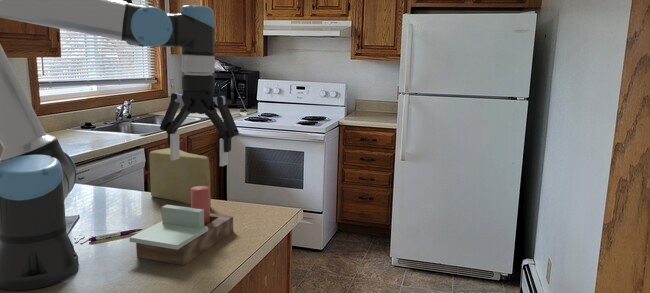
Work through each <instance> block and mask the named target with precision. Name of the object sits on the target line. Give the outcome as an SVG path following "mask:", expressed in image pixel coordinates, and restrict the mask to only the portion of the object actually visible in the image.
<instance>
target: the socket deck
mask: <svg viewBox="0 0 650 293" xmlns="http://www.w3.org/2000/svg"><path fill="white" fill-rule="evenodd" d="M204 226H207V227H208V231H207V232H205V233H204V234H202V235H201V236H199V237H197V238H196V239H194V240H192V241H191V242H189V243H188V244H186V245H184V246H183V247H181V248H179V249H178V250H176V249H170V248H164V247H158V246H152V245H146V244H140V243H135V245H136V247H135V248H136V250H135V251H136V258H141V259H146V260H152V261H158V262H163V263H169V264H173V265H180V266H185V265H186V264H187V263H189V262H191V261H193V260H194V259H195V258H196V257H198V256H199V255H201V254H202V253H203V252H205V251H206V250H208V249H209V248H211V247H212V246H214V245H216V244H217V243H218V242H220V241H221V240H222V239H224V238H226V237H227V236H229V235H230V234H232V233H233V232H234V216H233V215H227V214H226V215H225V214H217V213H212V212H210V223H209V224H207V225H204Z"/></svg>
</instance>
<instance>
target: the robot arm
mask: <svg viewBox="0 0 650 293" xmlns="http://www.w3.org/2000/svg"><path fill="white" fill-rule="evenodd" d="M0 19H7V20H12V21H17V22H22V23H27V24H31V25H32V24H33V25H38V26H44V27H48V28H54V29H60V30H63V31H64V30H65V31H69V32H70V31H71V32H74V33H75V32H76V33H80V34H85V35H90V36H91V35H93V36H96V37H102V38H107V39H113V40H117V41H123V42H126V44H127V45H129V46H134V47H135V46H137V47H152V48H158V47H159V48H161V47H162V48H181V72H182V73H183V74H182V76H181V89H182V92H183V93H182V94H181V92H174V93H171V94H170V102H169V105H168V107H167V110H166V112H165V115H164V116H163V119H162V120H161V123H160V126H159V129H160V130H161V131H164V132H166V133H167V146H168V147H169V148H170V159H171V160H176V159H180V150H181V149H180V132H178V130H179V128H180V127H181V125H182V124H183V123H184V122H185V120H186V119H187V118H188V116H189V115H190V114H199V115H205V116H206V117H208V119H209V120H210V122H211V123H212V124H213V126H214V127H215V129H216V130H217V131H218V133H219V134H220V135H221V138H219V167H224V166H227V165H229V152H231V151H232V138H234V137H237V136H239V135H240V131H239V129H238V127H237V124H236V123H235V120H234V117H233V116H232V113H231V111H230V108H229V105H228V100H227V99H228V98H227V96H226V95H220V96H216V95H215V89H216V84H215V83H216V82H215V81H216V79H215V78H216V77H215V75H213V74H214V73H215V72H216V71H215V63H216V62H215V57H216V56H215V55H216V54H215V50H216V47H215V45H216V43H215V41H216V27H215V12H214V9H213V8H211V7H209V6H205V5H191V4H190V5H189V4H188V5H182V6H181V8H180V12H179V13H166V11H165V10H163V9H161V8H160V7H157V6H153V5H145V6H144V5H141V4H136V3H130V2H127V1H122V0H0ZM181 102H183V105H182V107H181V108H180V105H181ZM214 104H215V105H216V106H217V109H218V111H217V109H216V107H215V106H214ZM179 108H180V111H179V113H178V114H177V112H178V110H179ZM218 112H219V114H220V115H219V114H218ZM0 145H1V147H2V151H1V155H0V289H1V290H4V291H28V290H35V289H36V290H37V289H40V288H45V287H49V286H53V285H55V284H58V283H60V282H63V281H65V280H68V279H70V277H72V276H73V275H75V274H76V273H77V271H78V270H79V266H80V265H79V256H78V253H77V252H76V250H75V247H74V245H73V243H72V241H71V239H70V237H69V234H68V232H67V220H66V206H65V200H66V199H67V197H68V195H69V194H70V193H71V191H72V190H73V188H74V186H75V185H76V181H77V167H76V164H75V162H74V160H73V158H72V157H71V156H70V155H69V154H67V152H65V151H64V150H63V148H62V146H61V144H60V142H59V140H58V138H57V137H56V136H54V135H51V134H49V133H47V132H46V130H45V129H44V128H43V125H42V123H41V122H40V120H39V118H38V116H37V113H36V112H35V109H34V108H33V106H32V104H31V102H30V99H29V98H28V95H27V94H26V92H25V89H24V88H23V85H22V83H21V82H20V80H19V78H18V76H17V74H16V72H15V70H14V68H13V65H12V64H11V62H10V60H9V59H8V57H7V54H6V52H5V50H4V48H3V47H2V44H1V43H0Z"/></svg>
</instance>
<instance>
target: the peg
mask: <svg viewBox="0 0 650 293" xmlns="http://www.w3.org/2000/svg"><path fill="white" fill-rule="evenodd" d="M190 206H191V207H190V208H196V209H203V210H204V225H207V224H209V223H210V213H211V212H210V210H211V208H210V207H211V206H210V200H209V187H206V186H197V187H193V188H191V204H190Z"/></svg>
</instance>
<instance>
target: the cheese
mask: <svg viewBox="0 0 650 293" xmlns="http://www.w3.org/2000/svg"><path fill="white" fill-rule="evenodd" d="M179 150H180V159H176V160H171V159H170V147H169V148H168V147H167V148H162V149H154V150H151V151H150V152H149V156H148V157H149V159H148V160H149V178H150V179H149V180H150V196H151V197H153V198H158V199H164V200H169V201H175V202H179V203H183V204H188V205H191V188H193V187H197V186H206V187H209V200H210V207H211V206H212V205H211V204H212V203H211V201H212V198H211V168H210V158H209V157H208V156H206V155H202V154H200V155H199V154H194V153H189V152H186V151H183V150H181V149H179Z"/></svg>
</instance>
